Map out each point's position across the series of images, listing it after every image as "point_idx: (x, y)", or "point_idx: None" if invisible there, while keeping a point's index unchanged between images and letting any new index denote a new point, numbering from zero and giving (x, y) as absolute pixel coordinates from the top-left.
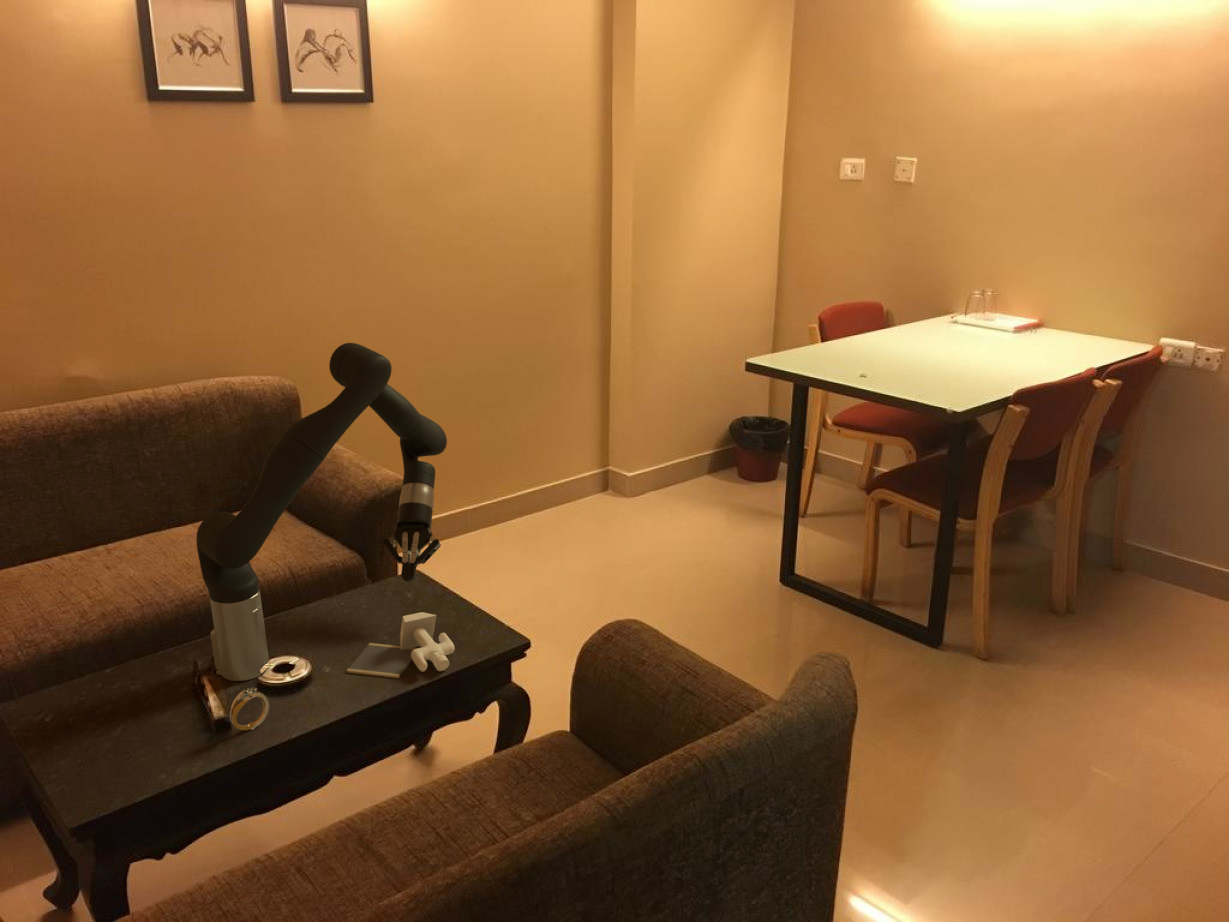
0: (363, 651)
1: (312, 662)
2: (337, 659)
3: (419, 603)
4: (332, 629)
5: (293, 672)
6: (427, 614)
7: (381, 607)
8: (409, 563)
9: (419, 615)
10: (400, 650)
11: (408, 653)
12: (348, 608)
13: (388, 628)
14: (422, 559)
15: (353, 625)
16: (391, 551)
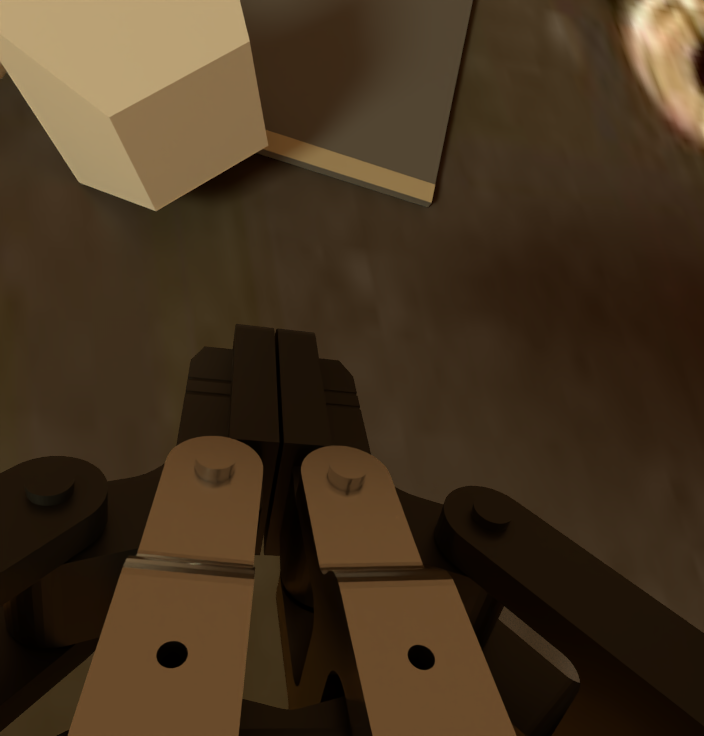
0: (443, 126)
1: (639, 93)
2: (543, 100)
3: None
4: (656, 384)
5: (683, 33)
6: (51, 44)
7: None
8: (280, 565)
9: (117, 32)
10: None
11: None
12: None
13: (366, 375)
14: (26, 467)
15: (565, 422)
16: (637, 608)
